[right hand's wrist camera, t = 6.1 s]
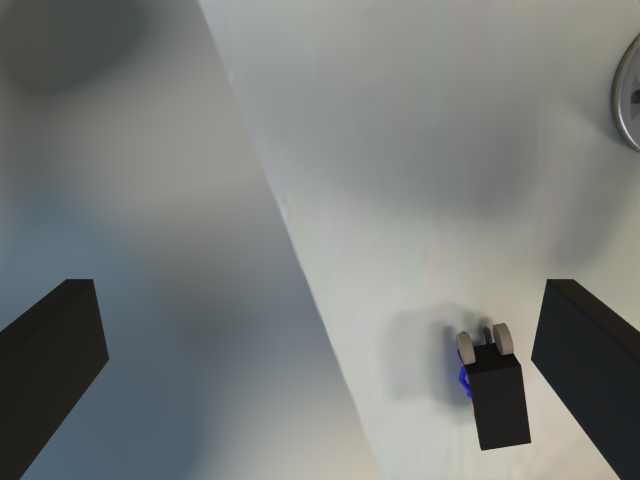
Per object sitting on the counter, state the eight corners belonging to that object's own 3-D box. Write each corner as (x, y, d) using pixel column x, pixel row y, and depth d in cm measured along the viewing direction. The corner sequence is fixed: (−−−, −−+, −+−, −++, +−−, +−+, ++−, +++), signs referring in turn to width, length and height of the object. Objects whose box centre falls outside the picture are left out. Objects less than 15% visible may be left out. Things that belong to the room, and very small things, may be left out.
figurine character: (442, 319, 56) (464, 417, 60) (458, 347, 49) (482, 457, 52) (494, 307, 56) (513, 406, 59) (518, 334, 48) (538, 446, 52)
